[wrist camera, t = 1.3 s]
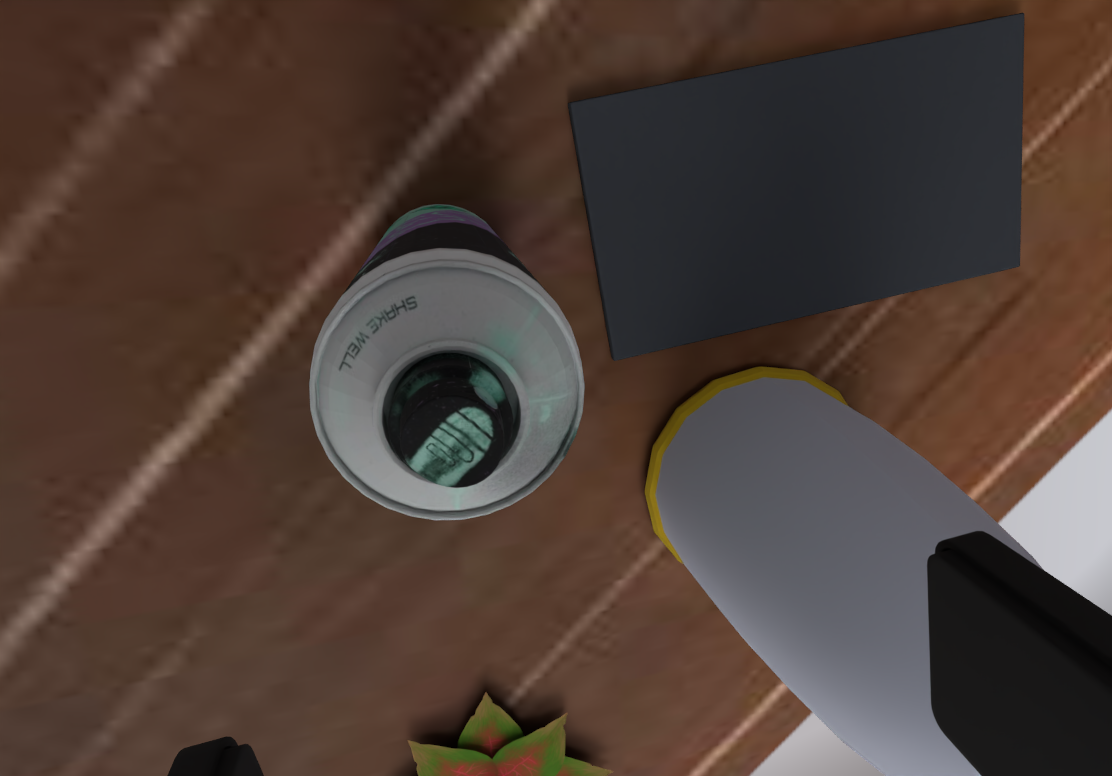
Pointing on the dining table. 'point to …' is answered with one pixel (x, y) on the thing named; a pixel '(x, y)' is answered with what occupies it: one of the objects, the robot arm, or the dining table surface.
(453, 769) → the lily flower
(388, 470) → the spray can
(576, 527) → the dining table surface
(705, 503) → the soap bottle
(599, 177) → the mat
